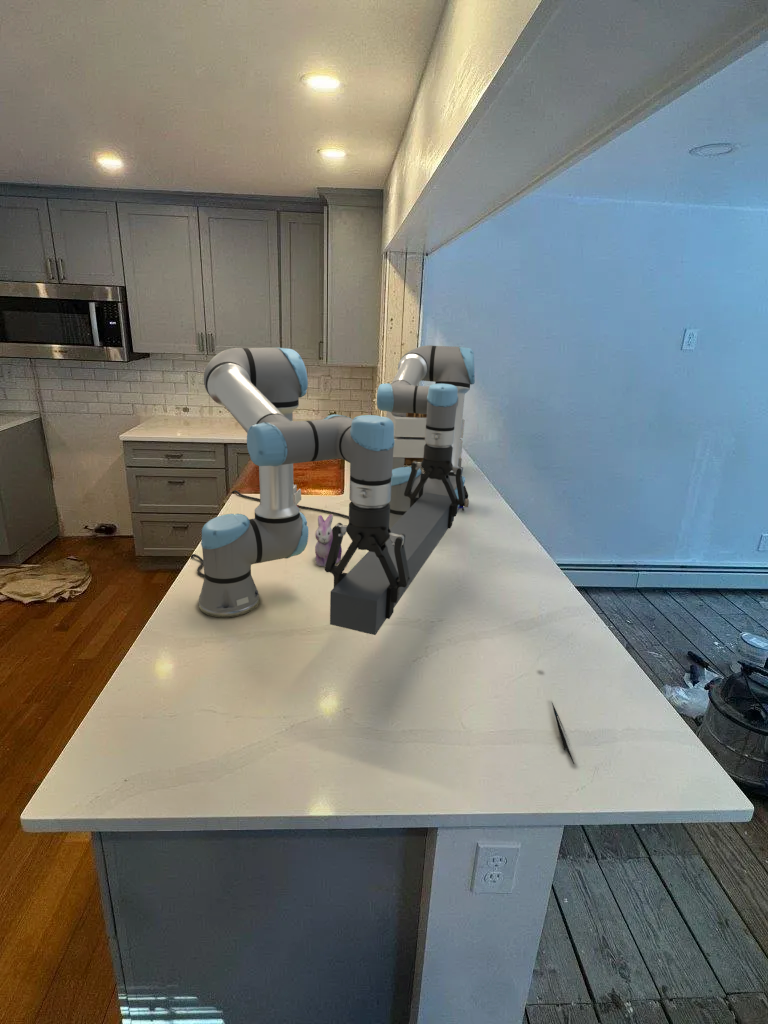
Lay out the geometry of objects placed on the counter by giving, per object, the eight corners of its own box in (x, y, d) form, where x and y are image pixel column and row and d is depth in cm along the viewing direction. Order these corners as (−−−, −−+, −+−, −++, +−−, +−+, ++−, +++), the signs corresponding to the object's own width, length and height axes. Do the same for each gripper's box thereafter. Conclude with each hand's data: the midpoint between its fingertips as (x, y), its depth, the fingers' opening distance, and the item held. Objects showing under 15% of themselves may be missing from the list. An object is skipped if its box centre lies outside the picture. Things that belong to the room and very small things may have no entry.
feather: (541, 676, 126) (546, 670, 126) (574, 768, 100) (581, 761, 99) (535, 672, 126) (540, 666, 126) (566, 764, 100) (573, 756, 99)
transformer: (382, 463, 289) (386, 382, 275) (445, 464, 293) (451, 384, 279) (390, 482, 257) (394, 392, 243) (460, 483, 261) (468, 394, 247)
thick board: (423, 515, 164) (424, 492, 162) (453, 520, 162) (456, 497, 159) (329, 624, 107) (330, 591, 104) (375, 635, 104) (377, 601, 101)
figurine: (319, 569, 170) (319, 523, 165) (307, 556, 178) (307, 511, 173) (348, 564, 174) (349, 519, 169) (335, 552, 182) (336, 508, 177)
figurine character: (468, 516, 224) (463, 500, 237) (471, 498, 221) (465, 483, 234) (452, 515, 224) (447, 499, 237) (453, 498, 220) (449, 482, 234)
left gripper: (306, 499, 103) (306, 607, 111) (422, 518, 97) (414, 631, 105) (323, 487, 110) (322, 590, 118) (433, 504, 104) (424, 612, 111)
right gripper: (394, 442, 149) (390, 522, 156) (477, 452, 142) (469, 535, 150) (402, 436, 155) (398, 513, 163) (482, 446, 149) (474, 525, 157)
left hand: (365, 610), depth 111 cm, fingers closed on thick board, 9 cm apart
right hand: (432, 523), depth 157 cm, fingers closed on thick board, 9 cm apart
